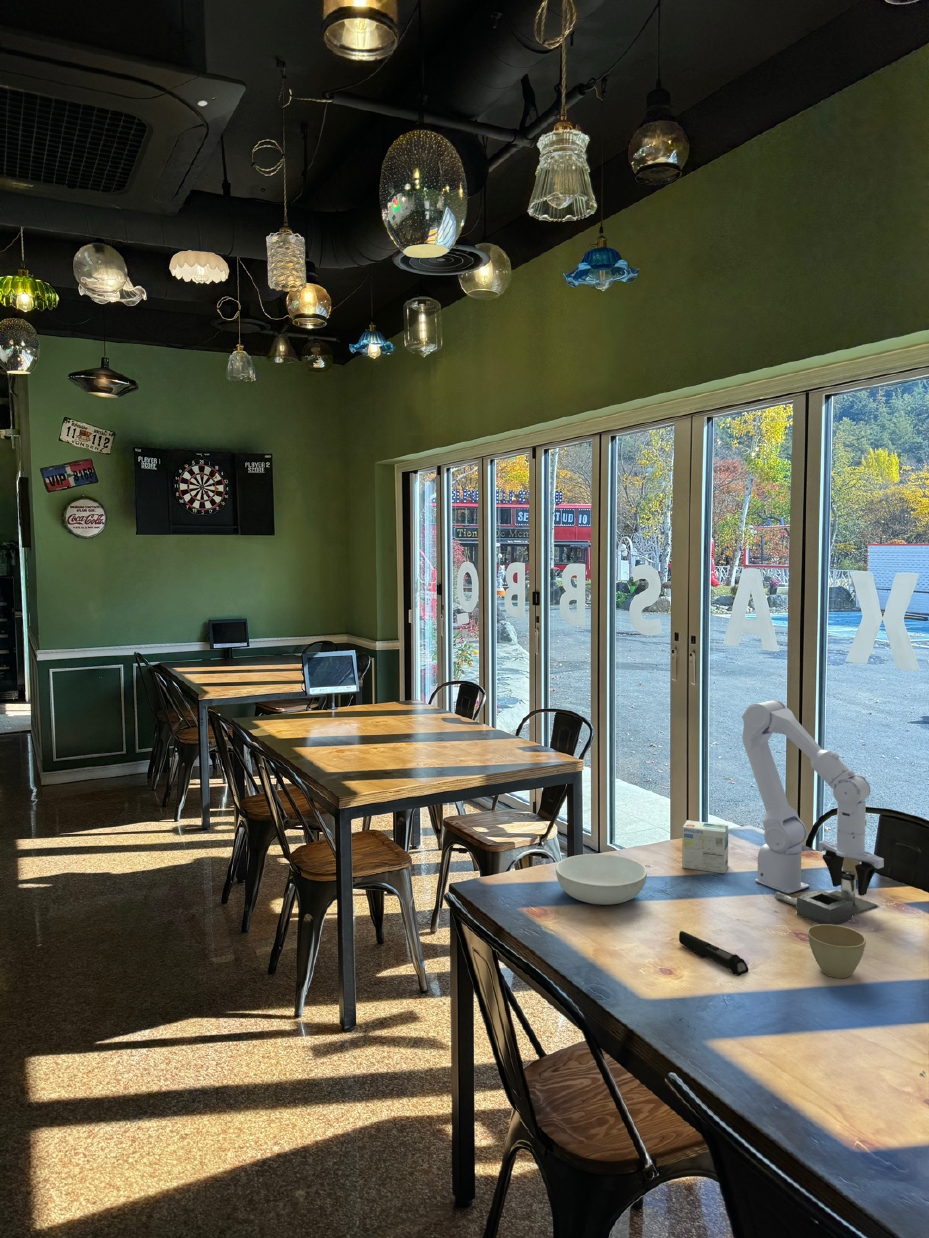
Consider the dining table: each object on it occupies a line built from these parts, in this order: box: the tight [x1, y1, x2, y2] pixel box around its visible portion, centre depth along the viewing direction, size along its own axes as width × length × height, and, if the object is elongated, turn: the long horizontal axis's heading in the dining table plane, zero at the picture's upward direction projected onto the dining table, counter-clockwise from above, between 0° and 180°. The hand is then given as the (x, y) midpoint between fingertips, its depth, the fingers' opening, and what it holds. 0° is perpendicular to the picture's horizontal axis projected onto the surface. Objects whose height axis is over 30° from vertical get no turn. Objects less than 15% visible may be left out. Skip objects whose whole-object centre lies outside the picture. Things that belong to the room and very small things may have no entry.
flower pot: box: [807, 924, 867, 979], centre depth 157 cm, size 10×10×7 cm
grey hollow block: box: [774, 889, 853, 926], centre depth 185 cm, size 16×8×4 cm, turn 32°
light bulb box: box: [681, 819, 729, 874], centre depth 212 cm, size 11×7×11 cm, turn 66°
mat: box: [829, 889, 878, 917], centre depth 189 cm, size 10×9×1 cm
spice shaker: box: [840, 870, 857, 906], centre depth 187 cm, size 3×3×7 cm
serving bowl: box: [555, 853, 648, 906], centre depth 193 cm, size 21×21×7 cm
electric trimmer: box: [678, 930, 749, 977], centre depth 163 cm, size 4×16×3 cm, turn 32°
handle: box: [842, 818, 868, 881], centre depth 203 cm, size 5×6×15 cm
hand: (849, 889), depth 188 cm, fingers open, 6 cm apart
